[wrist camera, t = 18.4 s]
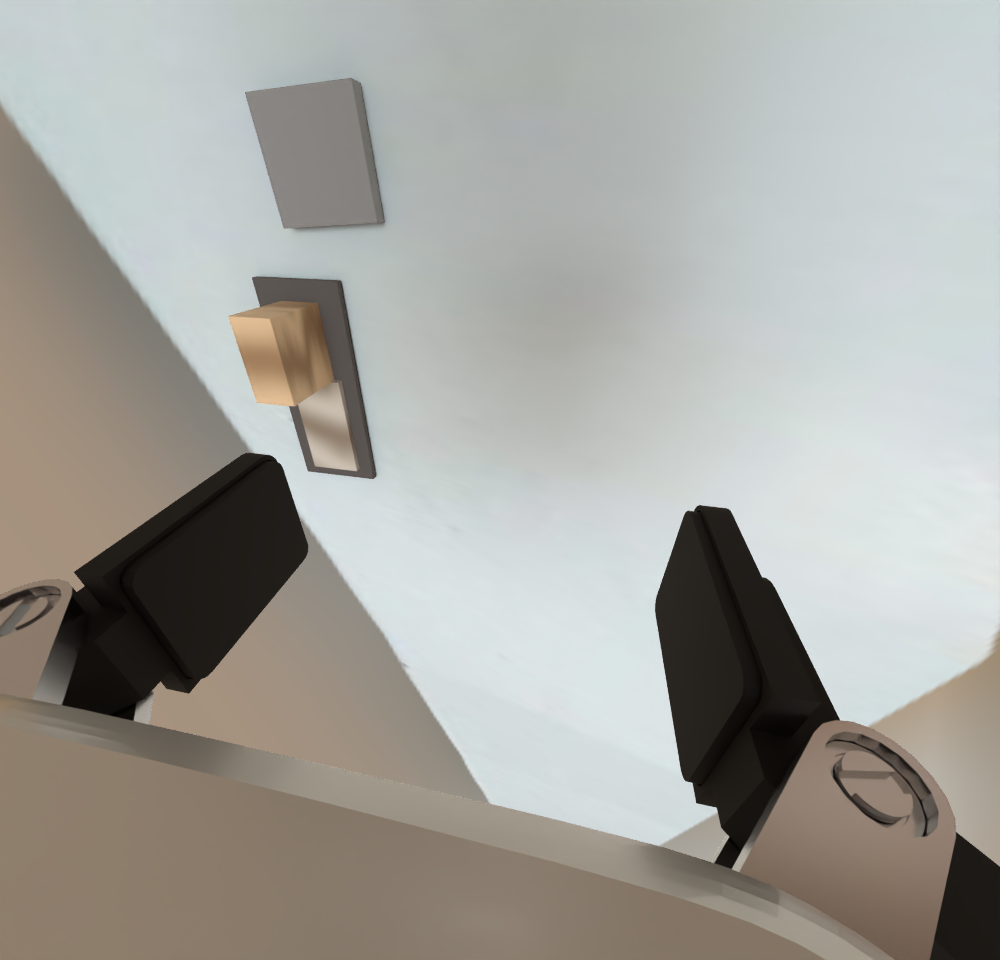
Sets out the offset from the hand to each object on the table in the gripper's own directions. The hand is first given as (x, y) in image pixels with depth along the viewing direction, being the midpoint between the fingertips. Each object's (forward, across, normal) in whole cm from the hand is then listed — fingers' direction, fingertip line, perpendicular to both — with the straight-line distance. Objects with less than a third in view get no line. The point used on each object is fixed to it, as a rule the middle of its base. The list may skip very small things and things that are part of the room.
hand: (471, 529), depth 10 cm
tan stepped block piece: (+28, +22, +9) cm, 37 cm away
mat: (+28, +22, +9) cm, 37 cm away
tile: (+28, +14, -9) cm, 33 cm away
